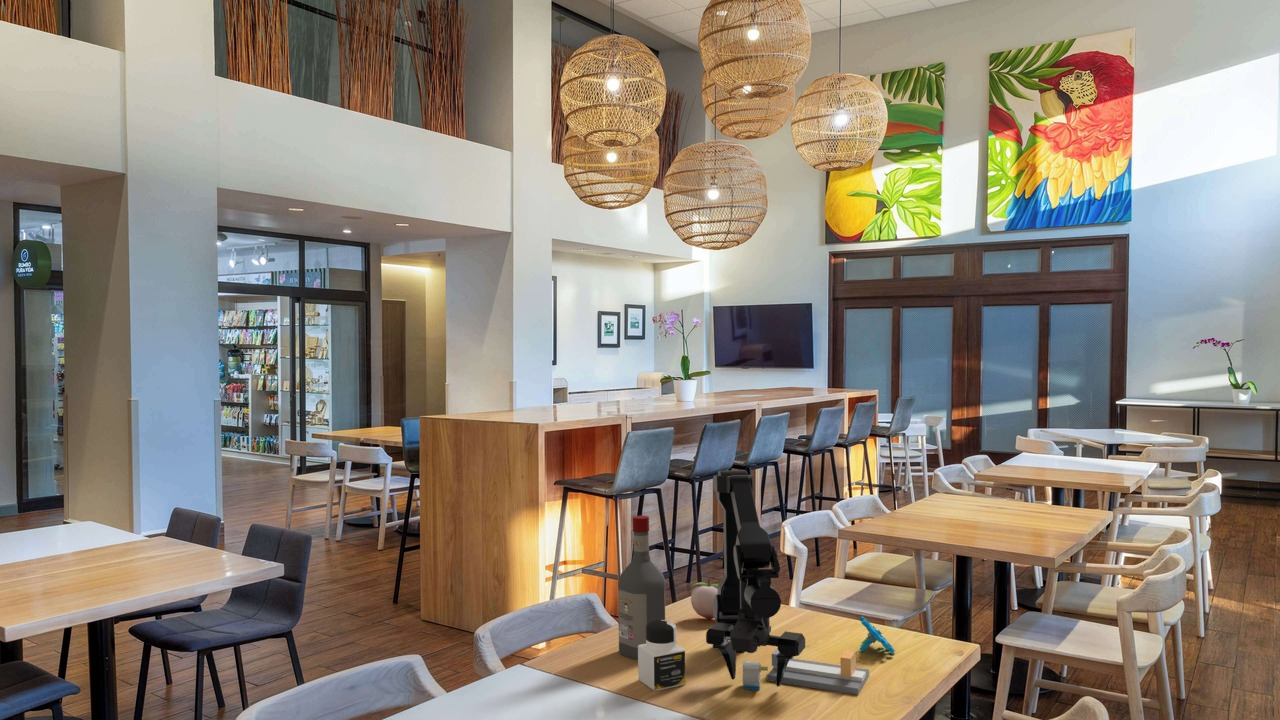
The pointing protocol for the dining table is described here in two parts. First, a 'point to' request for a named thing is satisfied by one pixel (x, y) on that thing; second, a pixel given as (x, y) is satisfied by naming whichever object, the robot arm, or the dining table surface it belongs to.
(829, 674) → the rail
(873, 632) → the gear
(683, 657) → the medicine bottle
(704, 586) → the decorative fruit
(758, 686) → the electric motor
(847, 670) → the tall tan wooden block
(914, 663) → the dining table surface
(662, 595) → the liquor
